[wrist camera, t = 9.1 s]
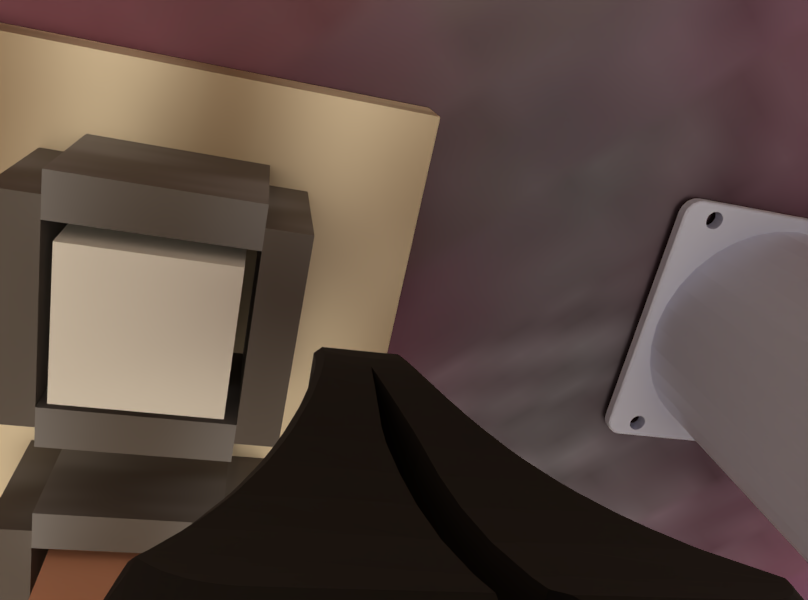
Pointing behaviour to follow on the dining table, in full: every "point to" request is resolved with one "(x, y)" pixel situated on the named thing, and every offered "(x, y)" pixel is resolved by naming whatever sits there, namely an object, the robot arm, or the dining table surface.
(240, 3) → the dining table surface
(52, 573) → the terracotta button
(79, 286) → the offwhite button
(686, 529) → the dining table surface
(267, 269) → the button panel
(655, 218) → the dining table surface
